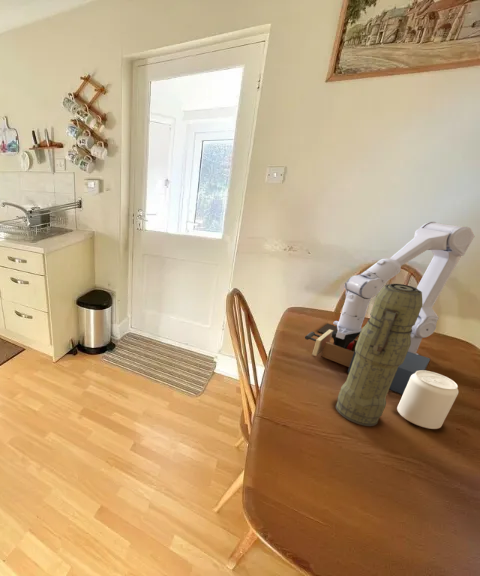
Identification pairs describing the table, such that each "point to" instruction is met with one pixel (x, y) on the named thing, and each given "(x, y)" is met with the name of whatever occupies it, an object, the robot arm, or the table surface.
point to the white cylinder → (427, 399)
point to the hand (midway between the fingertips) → (341, 350)
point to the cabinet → (405, 370)
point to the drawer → (331, 348)
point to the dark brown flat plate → (327, 328)
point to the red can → (350, 345)
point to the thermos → (379, 353)
